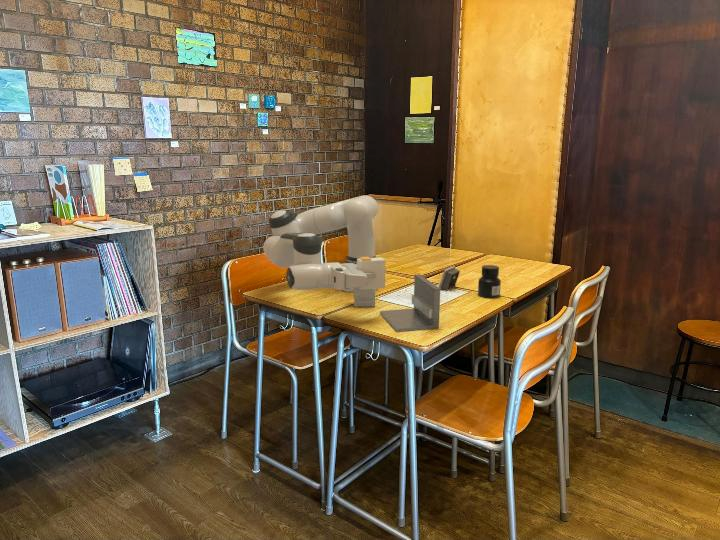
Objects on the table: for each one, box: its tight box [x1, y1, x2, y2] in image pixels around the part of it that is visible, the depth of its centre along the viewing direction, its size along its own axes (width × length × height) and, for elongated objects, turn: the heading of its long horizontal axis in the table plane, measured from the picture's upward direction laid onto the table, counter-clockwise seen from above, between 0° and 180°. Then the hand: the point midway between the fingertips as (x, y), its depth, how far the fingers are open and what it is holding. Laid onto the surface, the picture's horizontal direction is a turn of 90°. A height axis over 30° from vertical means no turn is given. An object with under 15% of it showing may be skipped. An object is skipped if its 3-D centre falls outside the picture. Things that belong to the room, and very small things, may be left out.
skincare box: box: [353, 264, 376, 308], centre depth 210 cm, size 8×7×16 cm
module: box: [357, 257, 386, 290], centre depth 192 cm, size 9×4×11 cm, turn 104°
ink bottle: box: [477, 264, 502, 299], centre depth 224 cm, size 10×9×12 cm
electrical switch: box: [438, 265, 461, 291], centre depth 234 cm, size 9×5×9 cm, turn 145°
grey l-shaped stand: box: [379, 273, 441, 333], centre depth 192 cm, size 15×20×14 cm
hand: (373, 273), depth 192 cm, fingers closed on module, 4 cm apart
